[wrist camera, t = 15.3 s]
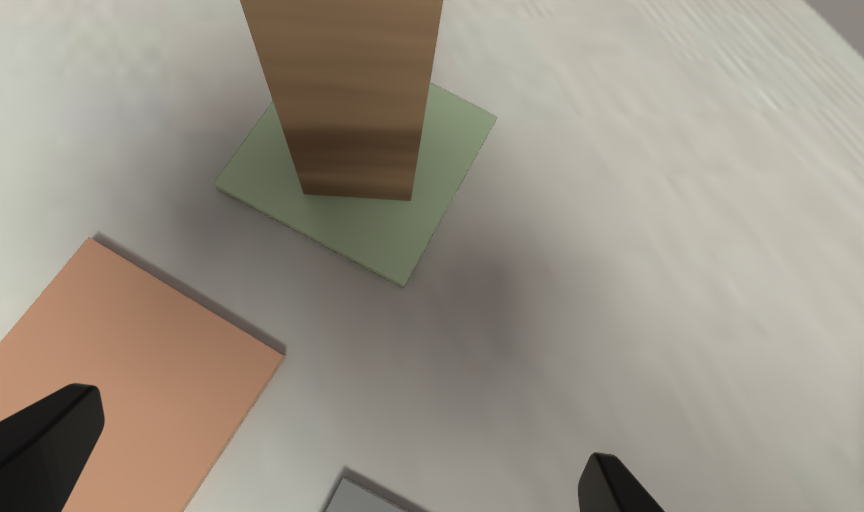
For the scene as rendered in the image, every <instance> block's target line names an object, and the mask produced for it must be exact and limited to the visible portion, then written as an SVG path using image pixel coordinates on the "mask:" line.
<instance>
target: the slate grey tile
mask: <svg viewBox="0 0 864 512" xmlns="http://www.w3.org/2000/svg"><path fill="white" fill-rule="evenodd" d="M326 512H409V511H407V510H405V509H403V508H401V507H399V506H398V505H396V504H394V503H392V502H390V501H388V500H386V499H385V498H383V497H381V496H379V495H377V494H375V493H373V492H372V491H370V490H368V489H366V488H364V487H362V486H360V485H359V484H357V483H355V482H353V481H351V480H349V479H347V478H346V477H343V479H342V481H341V483H340V485H339V487H338V489H337V491H336V492H335V494H334V496H333V498H332V500H331V502H330V504H329V506H328V508H327V510H326Z"/></svg>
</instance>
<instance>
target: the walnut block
mask: <svg viewBox="0 0 864 512" xmlns="http://www.w3.org/2000/svg"><path fill="white" fill-rule="evenodd" d="M240 2H241V5H242V8H243V11H244V14H245V17H246V20H247V23H248V26H249V29H250V32H251V35H252V38H253V41H254V44H255V47H256V50H257V53H258V56H259V59H260V62H261V66H262V69H263V72H264V75H265V78H266V81H267V84H268V87H269V90H270V93H271V96H272V99H273V102H274V105H275V108H276V111H277V114H278V117H279V120H280V123H281V126H282V130H283V133H284V136H285V139H286V142H287V145H288V148H289V151H290V154H291V157H292V160H293V163H294V166H295V169H296V172H297V175H298V178H299V181H300V184H301V187H302V190H303V194H309V195H325V196H340V197H356V198H371V199H386V200H402V201H411V197H412V191H413V185H414V178H415V172H416V166H417V160H418V153H419V147H420V141H421V135H422V129H423V122H424V116H425V110H426V104H427V97H428V91H429V85H430V79H431V72H432V66H433V60H434V54H435V47H436V41H437V35H438V29H439V23H440V16H441V10H442V4H443V0H240Z"/></svg>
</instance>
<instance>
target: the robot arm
mask: <svg viewBox="0 0 864 512" xmlns="http://www.w3.org/2000/svg"><path fill="white" fill-rule="evenodd" d="M104 424H105V415H104V410H103V405H102V399H101V394H100V390H99V389H98V387H97V386H94V385H89V384H81V383H72V384H69V385H66V386H65V387H63V388H61V389H59V390H57V391H55V392H53V393H52V394H50V395H48V396H46V397H44V398H42V399H40V400H38V401H37V402H35V403H33V404H31V405H29V406H27V407H25V408H24V409H22V410H20V411H18V412H16V413H14V414H12V415H11V416H9V417H7V418H5V419H3V420H1V421H0V512H62V510H63V508H64V506H65V504H66V503H67V501H68V499H69V497H70V495H71V493H72V491H73V489H74V487H75V485H76V483H77V481H78V479H79V477H80V475H81V473H82V471H83V469H84V467H85V465H86V463H87V461H88V459H89V457H90V455H91V453H92V451H93V449H94V447H95V445H96V443H97V441H98V439H99V437H100V435H101V433H102V431H103V428H104ZM578 498H579V507H580V512H665V511H664V510H663V509H662V508H661V507H660V506H659V504H658V503H657V502H656V501H655V500H654V499H653V497H652V496H651V495H650V494H649V493H648V492H647V491H646V489H645V488H644V487H643V486H642V485H641V484H640V483H639V481H638V480H637V479H636V478H635V477H634V476H633V475H632V473H631V472H630V471H629V470H628V469H627V468H626V467H625V465H624V464H623V463H622V462H621V461H620V460H619V459H618V458H617V457H616V456H615V455H612V454H605V453H598V452H595V453H593V454H592V455H591V456H590V458H589V460H588V462H587V464H586V467H585V469H584V471H583V473H582V475H581V478H580V480H579V484H578Z"/></svg>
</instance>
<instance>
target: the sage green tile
mask: <svg viewBox="0 0 864 512" xmlns="http://www.w3.org/2000/svg"><path fill="white" fill-rule="evenodd" d="M496 119H497V117H496V116H494V115H492V114H491V113H489V112H487V111H485V110H483V109H481V108H479V107H477V106H475V105H473V104H471V103H469V102H467V101H465V100H463V99H461V98H459V97H457V96H455V95H454V94H452V93H450V92H448V91H446V90H444V89H442V88H440V87H438V86H436V85H434V84H432V83H430V85H429V91H428V97H427V104H426V110H425V116H424V122H423V129H422V135H421V141H420V147H419V153H418V160H417V166H416V172H415V178H414V185H413V191H412V197H411V201H402V200H386V199H371V198H356V197H340V196H325V195H309V194H303V190H302V187H301V184H300V181H299V178H298V175H297V172H296V169H295V166H294V163H293V160H292V157H291V154H290V151H289V148H288V145H287V142H286V139H285V136H284V133H283V130H282V126H281V123H280V120H279V117H278V114H277V111H276V108H275V105H274V102H272V103H271V105H270V106H269V107H268V109H267V110H266V111H265V113H264V114H263V116H262V117H261V118H260V120H259V121H258V123H257V124H256V125H255V127H254V128H253V130H252V131H251V132H250V134H249V135H248V137H247V138H246V139H245V141H244V142H243V143H242V145H241V146H240V148H239V149H238V150H237V152H236V153H235V155H234V156H233V157H232V159H231V160H230V162H229V163H228V164H227V166H226V167H225V168H224V170H223V171H222V173H221V174H220V175H219V177H218V178H217V180H216V181H215V182H214V186H215V187H216V188H217V189H219V190H221V191H223V192H224V193H226V194H228V195H230V196H232V197H234V198H236V199H238V200H239V201H241V202H243V203H245V204H247V205H249V206H251V207H253V208H254V209H256V210H258V211H260V212H262V213H264V214H266V215H268V216H269V217H271V218H273V219H275V220H277V221H279V222H281V223H283V224H284V225H286V226H288V227H290V228H292V229H294V230H296V231H298V232H299V233H301V234H303V235H305V236H307V237H309V238H311V239H313V240H314V241H316V242H318V243H320V244H322V245H324V246H326V247H328V248H330V249H331V250H333V251H335V252H337V253H339V254H341V255H343V256H345V257H346V258H348V259H350V260H352V261H354V262H356V263H358V264H360V265H361V266H363V267H365V268H367V269H369V270H371V271H373V272H375V273H376V274H378V275H380V276H382V277H384V278H386V279H388V280H390V281H391V282H393V283H395V284H397V285H399V286H401V287H403V288H404V286H405V285H406V283H407V281H408V279H409V277H410V275H411V274H412V272H413V270H414V268H415V266H416V265H417V263H418V261H419V259H420V257H421V256H422V254H423V252H424V250H425V248H426V246H427V245H428V243H429V241H430V239H431V237H432V236H433V234H434V232H435V230H436V228H437V226H438V225H439V223H440V221H441V219H442V217H443V216H444V214H445V212H446V210H447V208H448V207H449V205H450V203H451V201H452V199H453V197H454V196H455V194H456V192H457V190H458V188H459V187H460V185H461V183H462V181H463V179H464V178H465V176H466V174H467V172H468V170H469V168H470V167H471V165H472V163H473V161H474V159H475V158H476V156H477V154H478V152H479V150H480V148H481V147H482V145H483V143H484V141H485V139H486V138H487V136H488V134H489V132H490V130H491V129H492V127H493V125H494V123H495V121H496Z"/></svg>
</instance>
